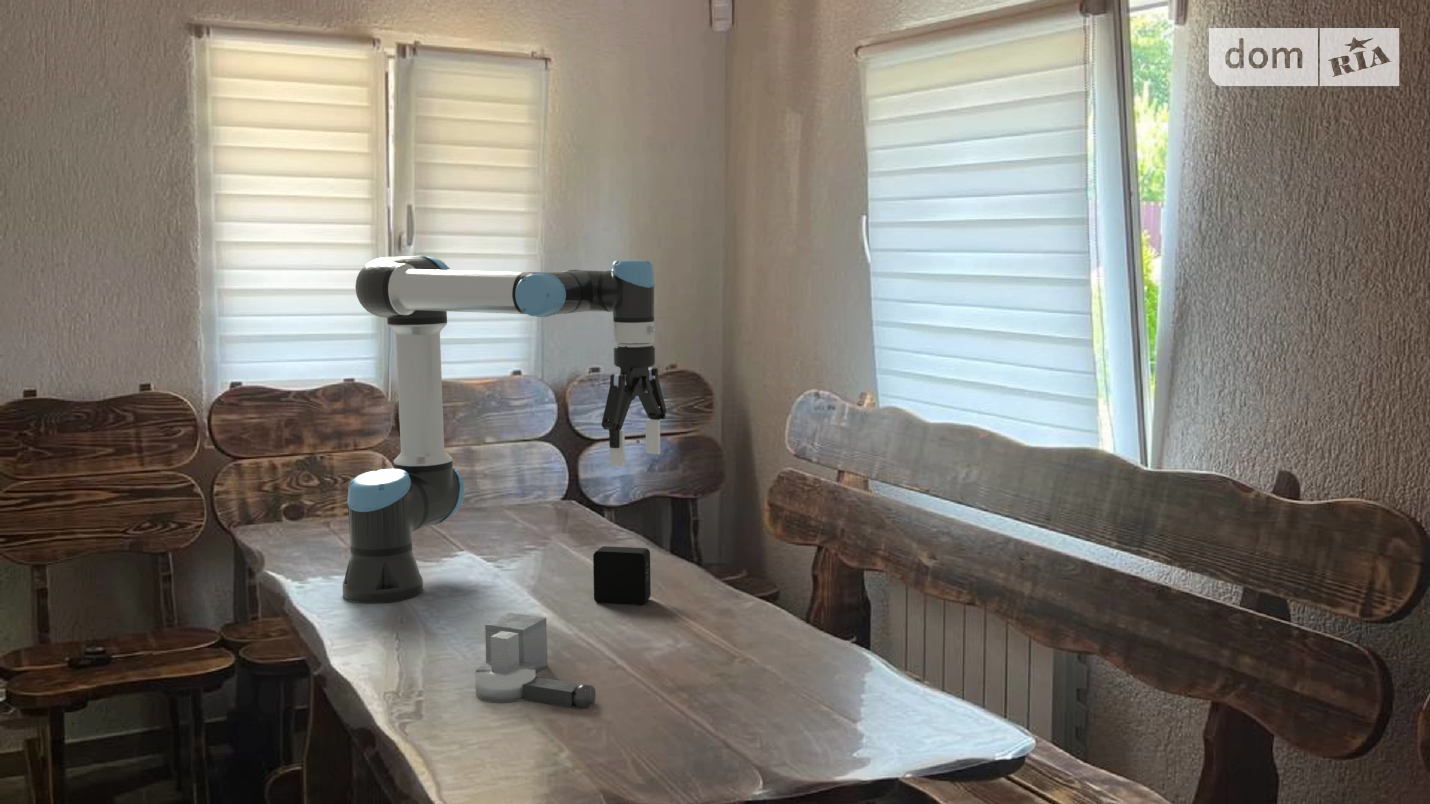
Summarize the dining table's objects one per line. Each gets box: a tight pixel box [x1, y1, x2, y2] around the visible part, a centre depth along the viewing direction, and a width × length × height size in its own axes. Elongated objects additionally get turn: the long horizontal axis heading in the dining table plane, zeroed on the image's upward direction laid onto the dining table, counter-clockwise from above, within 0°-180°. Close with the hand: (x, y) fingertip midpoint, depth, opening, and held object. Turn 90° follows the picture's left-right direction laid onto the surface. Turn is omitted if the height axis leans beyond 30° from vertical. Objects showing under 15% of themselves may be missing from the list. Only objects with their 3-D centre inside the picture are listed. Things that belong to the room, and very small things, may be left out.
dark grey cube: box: [484, 612, 548, 673], centre depth 208 cm, size 7×7×8 cm
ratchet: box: [474, 631, 596, 710], centre depth 196 cm, size 19×9×10 cm, turn 66°
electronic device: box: [592, 545, 652, 606], centre depth 247 cm, size 4×10×10 cm, turn 78°
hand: (635, 459), depth 241 cm, fingers open, 13 cm apart
